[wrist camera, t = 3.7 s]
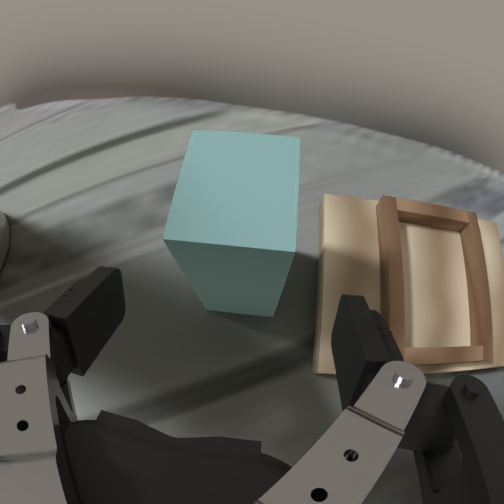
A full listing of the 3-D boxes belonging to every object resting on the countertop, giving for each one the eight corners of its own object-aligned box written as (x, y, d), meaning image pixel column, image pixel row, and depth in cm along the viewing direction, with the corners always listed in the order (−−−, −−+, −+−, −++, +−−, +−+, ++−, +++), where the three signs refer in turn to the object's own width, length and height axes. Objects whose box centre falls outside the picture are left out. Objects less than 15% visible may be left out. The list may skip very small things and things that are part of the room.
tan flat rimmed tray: (311, 373, 19) (323, 372, 16) (319, 208, 23) (328, 181, 20) (496, 367, 18) (524, 362, 15) (483, 233, 23) (505, 215, 20)
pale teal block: (206, 309, 21) (162, 238, 10) (217, 240, 22) (192, 130, 12) (273, 317, 20) (295, 252, 10) (279, 246, 22) (299, 137, 12)
